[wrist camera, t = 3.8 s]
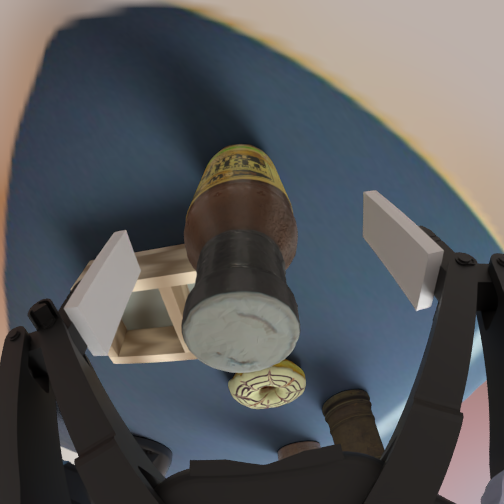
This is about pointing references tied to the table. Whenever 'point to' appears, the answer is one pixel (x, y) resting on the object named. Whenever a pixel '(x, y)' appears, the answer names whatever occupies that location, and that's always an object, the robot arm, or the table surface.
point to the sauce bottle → (240, 264)
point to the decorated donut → (268, 386)
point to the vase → (296, 448)
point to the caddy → (155, 309)
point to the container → (353, 423)
